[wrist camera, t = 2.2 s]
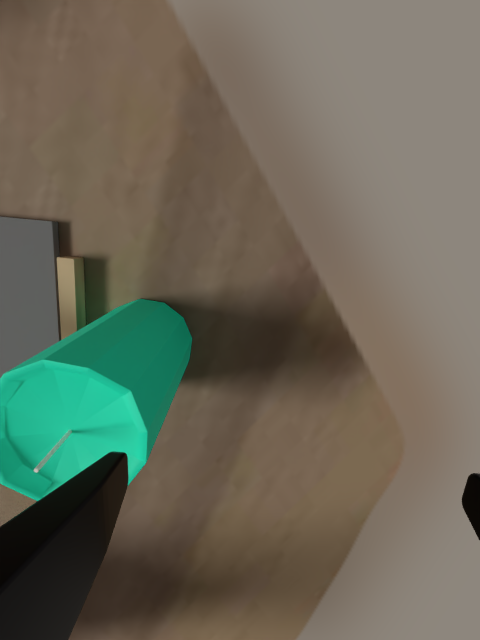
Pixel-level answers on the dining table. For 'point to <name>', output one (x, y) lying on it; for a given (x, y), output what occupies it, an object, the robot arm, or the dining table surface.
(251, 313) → the dining table surface
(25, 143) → the dining table surface
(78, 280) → the strip
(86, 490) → the robot arm
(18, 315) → the mat
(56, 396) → the candle
